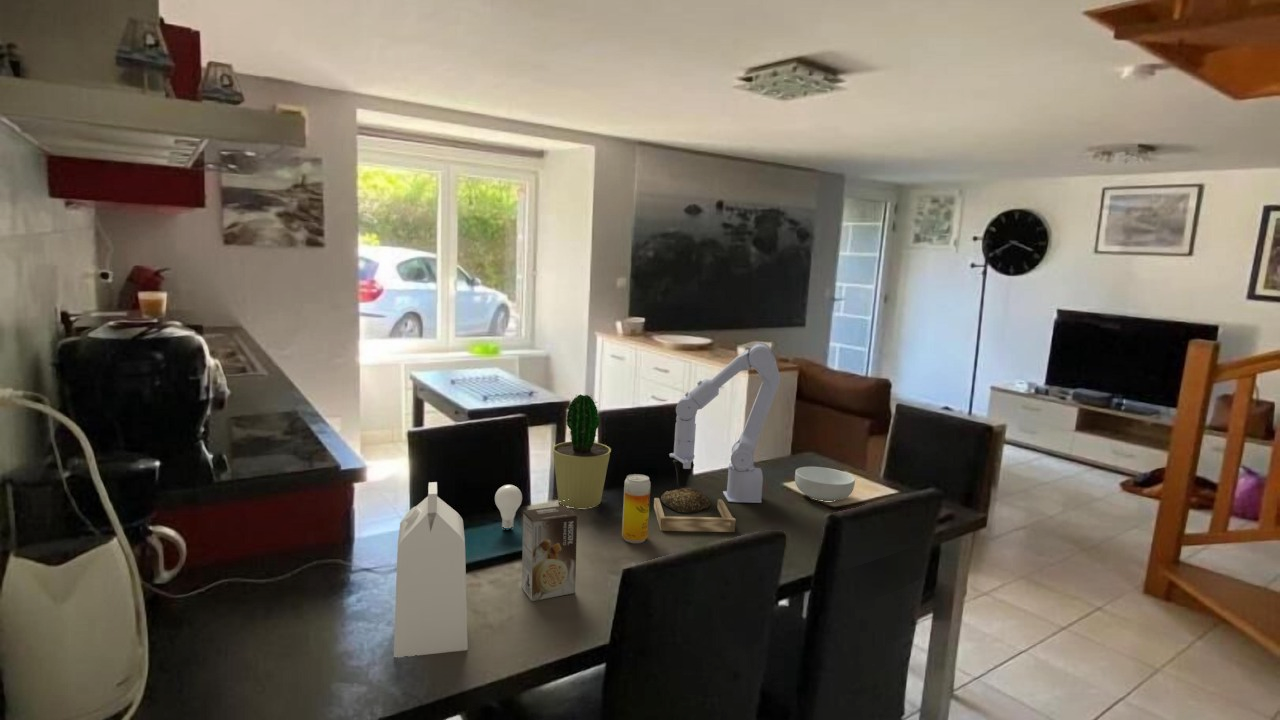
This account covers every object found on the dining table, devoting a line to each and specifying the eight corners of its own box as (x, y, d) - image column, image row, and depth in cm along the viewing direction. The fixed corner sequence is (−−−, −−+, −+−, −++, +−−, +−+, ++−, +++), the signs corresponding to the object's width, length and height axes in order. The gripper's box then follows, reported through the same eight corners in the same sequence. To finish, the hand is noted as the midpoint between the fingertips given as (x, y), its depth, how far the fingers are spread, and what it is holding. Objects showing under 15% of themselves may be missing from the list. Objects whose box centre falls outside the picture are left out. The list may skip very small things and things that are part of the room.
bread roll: (675, 515, 179) (676, 497, 179) (655, 499, 191) (656, 482, 190) (717, 510, 185) (719, 492, 184) (695, 495, 196) (696, 478, 195)
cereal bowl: (860, 510, 190) (862, 485, 189) (800, 506, 190) (802, 482, 189) (843, 489, 207) (845, 467, 206) (788, 486, 207) (790, 464, 206)
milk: (467, 649, 113) (470, 498, 110) (393, 658, 110) (393, 502, 106) (464, 613, 125) (467, 475, 121) (397, 619, 121) (397, 477, 118)
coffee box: (563, 579, 140) (566, 504, 138) (575, 593, 134) (579, 515, 132) (520, 587, 136) (522, 509, 133) (530, 602, 130) (533, 521, 128)
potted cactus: (619, 500, 187) (624, 392, 183) (586, 517, 174) (591, 401, 170) (573, 488, 195) (578, 384, 191) (538, 503, 182) (542, 392, 178)
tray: (721, 508, 186) (722, 497, 185) (734, 532, 170) (735, 519, 169) (653, 506, 184) (654, 495, 184) (660, 530, 168) (661, 518, 168)
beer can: (647, 544, 159) (650, 482, 157) (621, 543, 159) (624, 481, 157) (647, 534, 165) (651, 474, 163) (622, 533, 165) (625, 472, 163)
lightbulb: (488, 531, 162) (489, 486, 160) (503, 522, 168) (504, 479, 166) (511, 537, 159) (513, 491, 158) (526, 527, 165) (527, 483, 164)
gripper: (667, 432, 202) (665, 477, 204) (674, 446, 187) (671, 493, 189) (691, 433, 202) (688, 477, 204) (699, 446, 188) (696, 494, 190)
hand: (681, 485), depth 197 cm, fingers closed
